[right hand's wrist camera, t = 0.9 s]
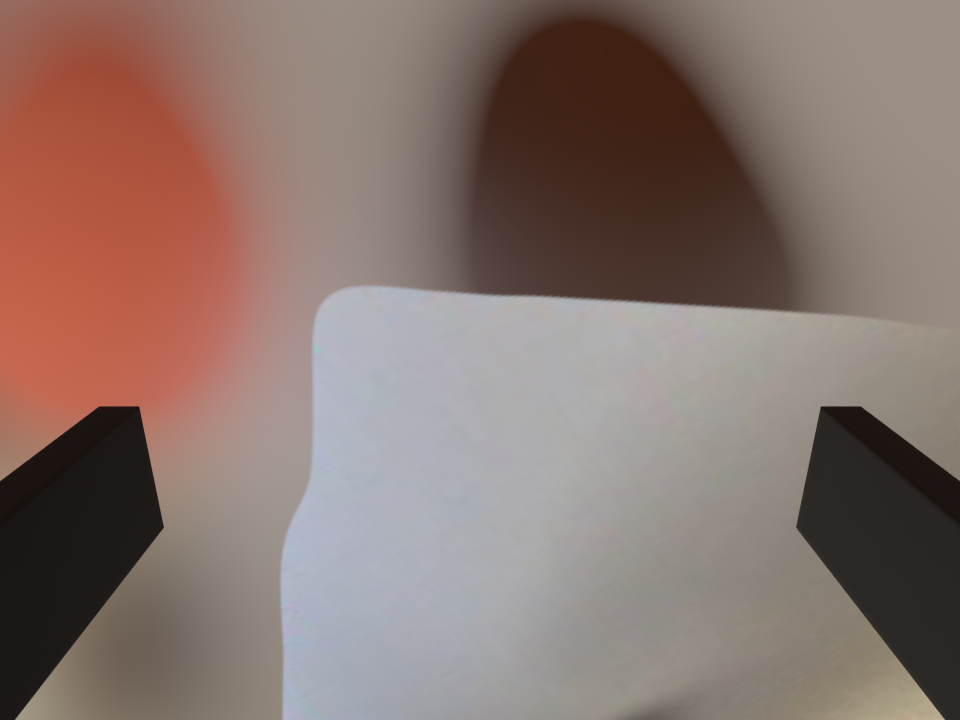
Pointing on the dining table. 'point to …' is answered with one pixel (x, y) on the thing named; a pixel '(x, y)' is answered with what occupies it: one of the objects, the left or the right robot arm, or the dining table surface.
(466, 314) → the dining table surface
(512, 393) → the dining table surface
